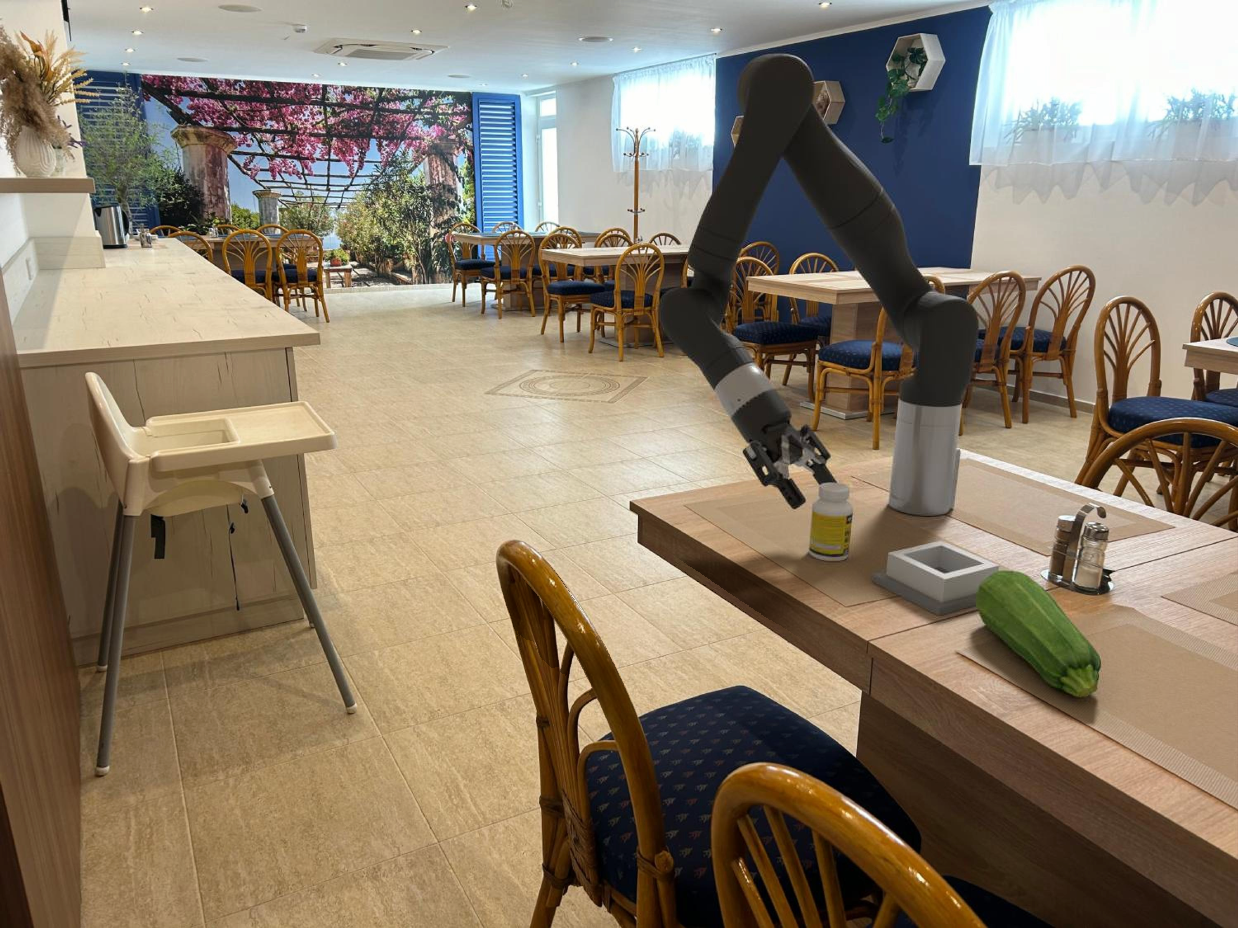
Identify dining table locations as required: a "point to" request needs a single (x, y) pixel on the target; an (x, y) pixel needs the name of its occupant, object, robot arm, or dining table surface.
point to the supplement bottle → (831, 523)
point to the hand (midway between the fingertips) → (817, 498)
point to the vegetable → (1038, 631)
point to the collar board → (936, 576)
